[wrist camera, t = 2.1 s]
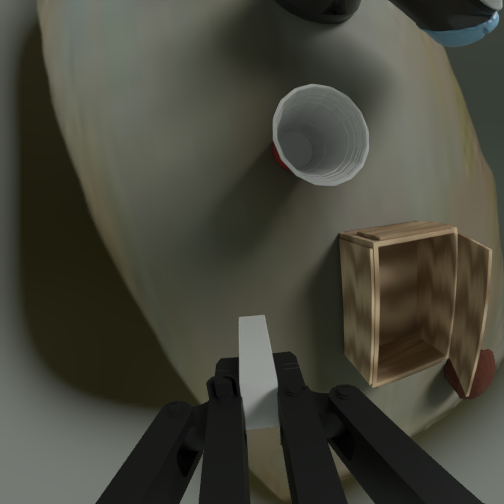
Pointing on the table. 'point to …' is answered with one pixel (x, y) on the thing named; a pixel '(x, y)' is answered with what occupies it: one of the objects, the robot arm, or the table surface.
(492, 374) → the muffin
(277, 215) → the table surface
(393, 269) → the light wood open box
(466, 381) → the flap
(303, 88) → the plastic cup
